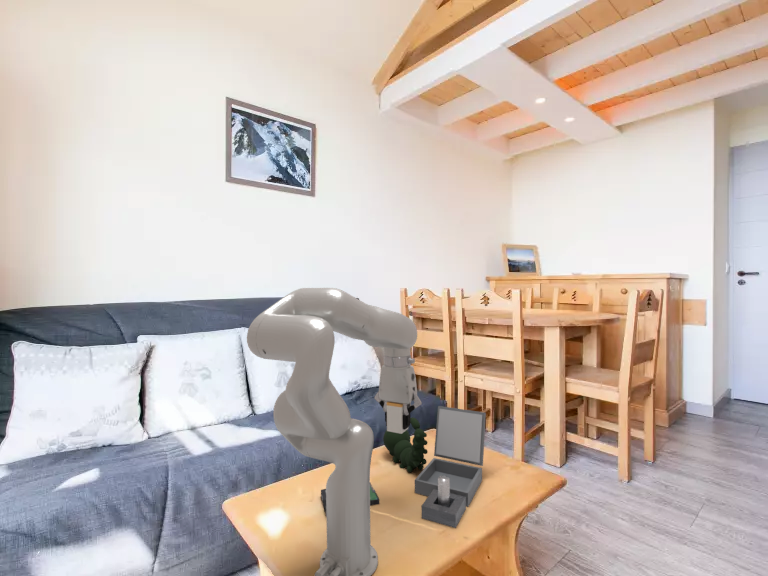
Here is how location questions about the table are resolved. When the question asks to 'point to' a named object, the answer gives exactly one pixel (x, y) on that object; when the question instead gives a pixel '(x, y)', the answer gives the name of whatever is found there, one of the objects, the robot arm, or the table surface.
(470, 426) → the lid
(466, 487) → the case
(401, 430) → the block
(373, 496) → the disk drive
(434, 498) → the socket block
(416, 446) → the toy figurine
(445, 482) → the rod
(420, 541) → the table surface
